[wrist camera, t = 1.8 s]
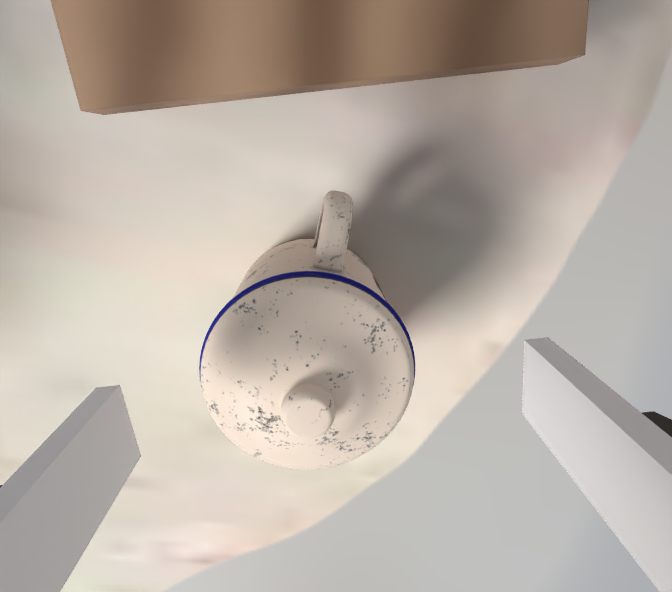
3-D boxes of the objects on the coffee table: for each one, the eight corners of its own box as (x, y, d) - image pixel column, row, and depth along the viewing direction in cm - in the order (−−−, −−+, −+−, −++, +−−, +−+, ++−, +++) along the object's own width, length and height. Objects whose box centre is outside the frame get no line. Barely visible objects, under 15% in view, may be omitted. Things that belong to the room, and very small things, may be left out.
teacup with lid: (366, 384, 28) (399, 533, 17) (225, 361, 27) (166, 504, 16) (413, 200, 25) (493, 239, 14) (253, 166, 24) (200, 180, 13)
